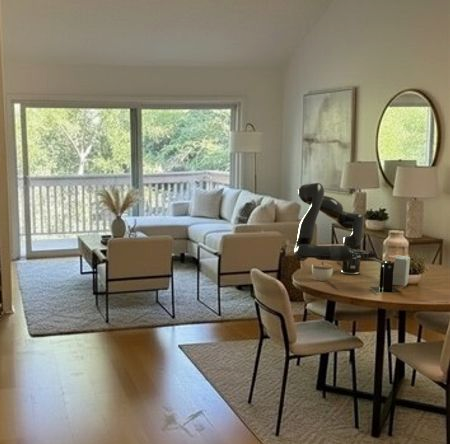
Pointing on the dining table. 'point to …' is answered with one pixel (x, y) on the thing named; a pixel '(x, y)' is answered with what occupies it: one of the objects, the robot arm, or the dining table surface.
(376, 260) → the lever
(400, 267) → the cosmetic box
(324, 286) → the dining table surface
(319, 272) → the trinket box
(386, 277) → the bracket
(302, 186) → the robot arm
